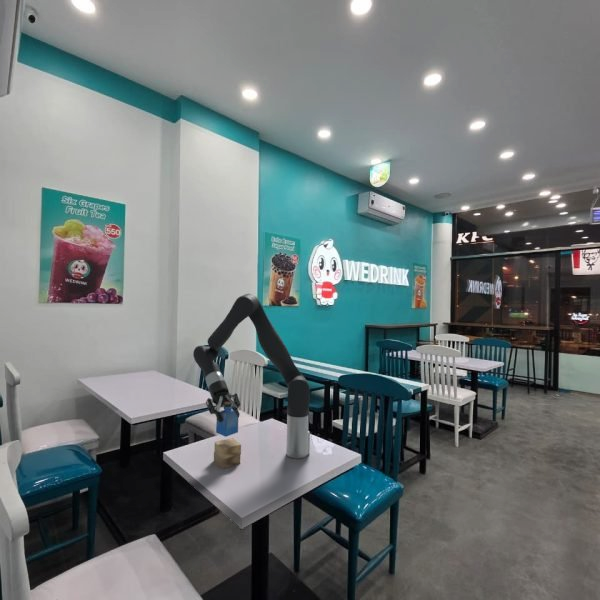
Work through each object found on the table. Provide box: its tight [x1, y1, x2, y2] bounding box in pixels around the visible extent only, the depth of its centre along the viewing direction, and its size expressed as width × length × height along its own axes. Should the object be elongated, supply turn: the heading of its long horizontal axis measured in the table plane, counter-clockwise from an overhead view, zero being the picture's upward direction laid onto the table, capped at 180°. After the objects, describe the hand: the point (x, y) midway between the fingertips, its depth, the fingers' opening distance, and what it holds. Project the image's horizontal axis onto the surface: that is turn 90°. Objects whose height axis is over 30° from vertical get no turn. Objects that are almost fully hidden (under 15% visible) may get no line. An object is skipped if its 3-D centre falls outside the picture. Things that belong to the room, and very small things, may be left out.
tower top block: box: [213, 437, 242, 459], centre depth 137 cm, size 8×8×4 cm
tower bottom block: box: [213, 451, 241, 470], centre depth 137 cm, size 8×8×4 cm
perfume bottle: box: [215, 402, 239, 437], centre depth 137 cm, size 6×6×12 cm
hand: (229, 419), depth 136 cm, fingers closed on perfume bottle, 6 cm apart
